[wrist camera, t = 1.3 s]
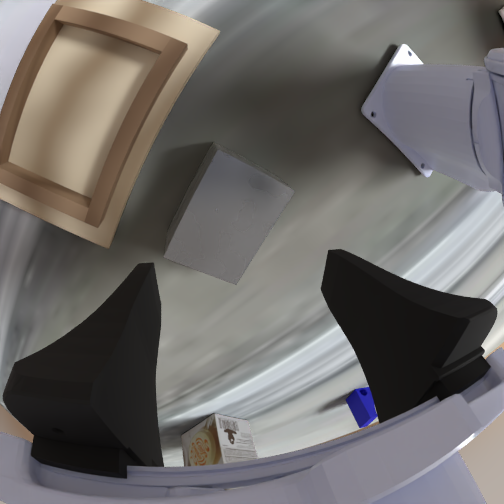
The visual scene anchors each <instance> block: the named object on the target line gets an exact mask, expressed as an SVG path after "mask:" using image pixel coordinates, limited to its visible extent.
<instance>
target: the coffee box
mask: <svg viewBox="0 0 504 504" xmlns="http://www.w3.org/2000/svg"><path fill="white" fill-rule="evenodd" d="M181 440H182V450H183V459H184V467H185V466H203V465H215V464H225V463H233V462H241V461H248V460H254V459H258V455H257V451H256V448H255V444H254V440H253V436H252V433H251V428H250V425H249V421H248V420H244V419H239V418H234V417H229V416H224V415H220V414H215V413H214V414H212V415H211V416H209V417H208V418H206V419H205V420H204V421H202V422H201V423H199V424H198V425H196V426H195V427H193V428H192V429H190V430H189V431H187V432H186V433H184V434H183V435H181ZM245 487H246V486H245ZM238 488H241V487H238ZM231 489H236V488H230V489H224V490H231Z"/></svg>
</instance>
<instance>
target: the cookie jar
mask: <svg viewBox="0 0 504 504" xmlns="http://www.w3.org/2000/svg"><path fill="white" fill-rule="evenodd" d="M498 12H499V14H500V15H501V17H502V19H503V22H504V7H503V8H502V9H501V10H499V11H498Z"/></svg>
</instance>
